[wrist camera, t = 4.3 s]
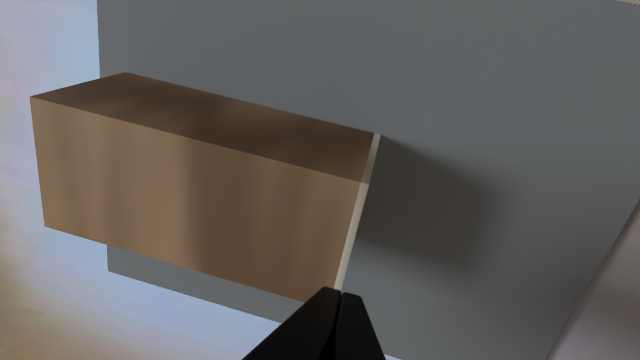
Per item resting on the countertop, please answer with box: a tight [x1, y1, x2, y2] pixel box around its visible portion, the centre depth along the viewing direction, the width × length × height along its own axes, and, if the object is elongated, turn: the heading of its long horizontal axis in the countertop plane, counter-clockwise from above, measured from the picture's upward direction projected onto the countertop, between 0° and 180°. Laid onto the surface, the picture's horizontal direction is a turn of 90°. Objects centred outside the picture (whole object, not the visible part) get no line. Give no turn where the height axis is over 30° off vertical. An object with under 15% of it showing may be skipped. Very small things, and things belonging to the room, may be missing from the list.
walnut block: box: [30, 72, 380, 303], centre depth 13 cm, size 4×4×9 cm
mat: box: [97, 0, 640, 360], centre depth 15 cm, size 18×14×1 cm
